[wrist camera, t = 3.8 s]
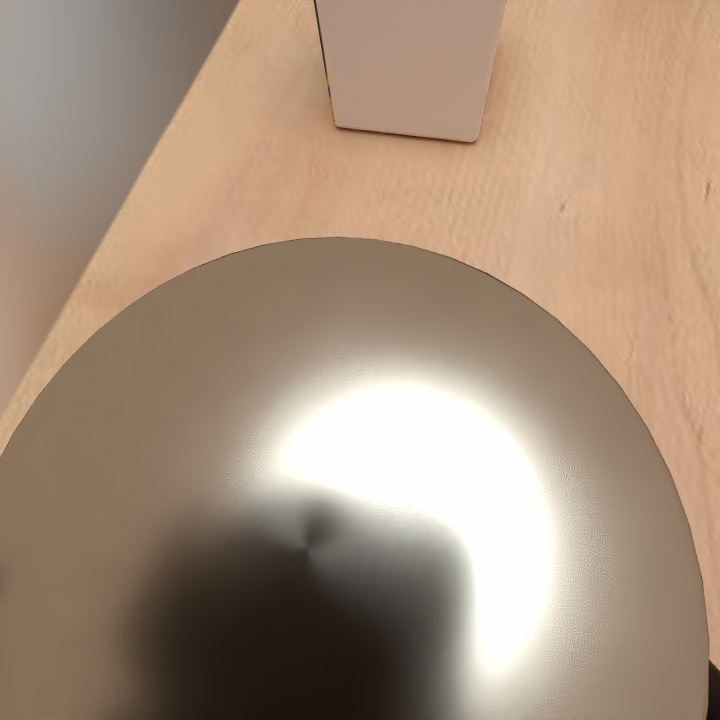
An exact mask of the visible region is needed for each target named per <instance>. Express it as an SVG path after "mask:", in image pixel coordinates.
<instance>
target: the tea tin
mask: <svg viewBox="0 0 720 720" xmlns="http://www.w3.org/2000/svg"><path fill="white" fill-rule="evenodd" d="M708 690H709V634H708V625H707V616H706V607H705V598H704V589H703V580H702V576H701V572H700V568H699V563H698V559H697V555H696V551H695V546H694V542H693V538H692V534H691V529H690V525H689V522H688V519H687V517H686V514H685V511H684V509H683V506H682V503H681V500H680V498H679V495H678V492H677V489H676V487H675V484H674V481H673V478H672V476H671V473H670V471H669V469H668V467H667V465H666V463H665V461H664V459H663V457H662V455H661V453H660V451H659V449H658V447H657V445H656V443H655V441H654V439H653V437H652V435H651V433H650V431H649V429H648V427H647V426H646V424H645V423H644V421H643V420H642V418H641V417H640V415H639V414H638V412H637V411H636V409H635V408H634V406H633V405H632V403H631V402H630V400H629V399H628V397H627V396H626V394H625V393H624V391H623V389H622V388H621V386H620V385H619V384H618V383H617V382H616V380H615V379H614V378H613V377H612V376H611V374H610V373H609V372H608V371H607V370H606V368H605V367H604V366H603V365H602V364H601V363H600V361H599V360H598V359H597V358H596V357H595V355H594V354H593V353H592V352H591V351H590V350H589V349H588V348H587V347H586V346H585V345H584V344H583V343H582V342H581V341H580V340H579V339H578V338H577V337H576V336H575V335H573V334H572V333H571V332H570V331H569V330H568V329H567V328H566V327H565V326H564V325H563V324H562V323H561V322H560V321H559V320H558V319H556V318H555V317H554V316H552V315H551V314H550V313H548V312H547V311H545V310H544V309H543V308H541V307H540V306H539V305H537V304H536V303H535V302H533V301H532V300H531V299H529V298H528V297H527V296H525V295H524V294H523V293H521V292H519V291H517V290H516V289H514V288H512V287H510V286H509V285H507V284H505V283H503V282H502V281H500V280H498V279H497V278H495V277H493V276H491V275H490V274H488V273H486V272H483V271H481V270H479V269H476V268H474V267H472V266H470V265H467V264H465V263H463V262H460V261H458V260H456V259H453V258H451V257H448V256H445V255H441V254H438V253H435V252H431V251H428V250H425V249H421V248H418V247H415V246H410V245H404V244H399V243H393V242H388V241H382V240H377V239H363V238H348V237H326V238H304V239H296V240H290V241H283V242H277V243H271V244H265V245H261V246H257V247H254V248H250V249H246V250H243V251H239V252H235V253H231V254H228V255H226V256H223V257H221V258H218V259H215V260H213V261H210V262H208V263H205V264H203V265H200V266H197V267H195V268H193V269H191V270H189V271H187V272H185V273H183V274H181V275H179V276H177V277H175V278H173V279H171V280H169V281H167V282H166V283H164V284H162V285H160V286H158V287H157V288H155V289H154V290H152V291H151V292H149V293H148V294H146V295H144V296H143V297H141V298H140V299H138V300H137V301H135V302H134V303H132V304H131V305H129V306H128V307H126V308H125V309H124V310H123V311H121V312H120V313H119V314H118V315H116V316H115V317H114V318H113V319H112V320H110V321H109V322H108V323H107V324H105V325H104V326H103V327H102V328H100V329H99V330H98V331H97V332H96V333H95V334H94V335H92V336H91V337H90V338H89V339H88V340H87V341H86V342H85V343H84V344H83V345H82V346H81V347H80V348H79V349H78V350H77V351H76V352H75V353H74V354H73V355H72V356H71V357H70V358H69V359H68V360H67V361H66V362H65V364H64V365H63V366H62V367H61V369H60V370H59V371H58V372H57V373H56V375H55V376H54V377H53V378H52V380H51V381H50V382H49V383H48V384H47V386H46V387H45V388H44V389H43V391H42V392H41V393H40V394H39V395H38V397H37V398H36V400H35V401H34V403H33V404H32V406H31V407H30V409H29V410H28V412H27V413H26V415H25V416H24V418H23V419H22V421H21V422H20V424H19V425H18V427H17V428H16V430H15V431H14V433H13V435H12V437H11V439H10V440H9V442H8V444H7V446H6V448H5V450H4V452H3V454H2V456H1V457H0V720H706V717H707V710H708Z"/></svg>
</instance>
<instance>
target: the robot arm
mask: <svg viewBox="0 0 720 720" xmlns="http://www.w3.org/2000/svg"><path fill="white" fill-rule="evenodd" d="M706 720H720V671H719V670H718V669H717V667H716V666H715V665H714V664H713V663H712V662H711V661H710V660H709V690H708V710H707V717H706Z"/></svg>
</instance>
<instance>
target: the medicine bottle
mask: <svg viewBox="0 0 720 720" xmlns="http://www.w3.org/2000/svg"><path fill="white" fill-rule="evenodd" d="M506 1H507V0H314V5H315V11H316V17H317V23H318V30H319V36H320V42H321V48H322V54H323V60H324V66H325V72H326V78H327V85H328V91H329V97H330V103H331V109H332V115H333V121H334V123H335V125H336V126H338V127H342V128H351V129H360V130H369V131H377V132H386V133H395V134H403V135H412V136H421V137H429V138H438V139H447V140H456V141H464V142H473V141H475V140H476V139H477V137H478V136H479V132H480V128H481V123H482V118H483V113H484V108H485V103H486V98H487V93H488V89H489V84H490V79H491V74H492V69H493V64H494V59H495V55H496V50H497V45H498V40H499V35H500V30H501V25H502V20H503V16H504V11H505V6H506Z"/></svg>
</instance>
